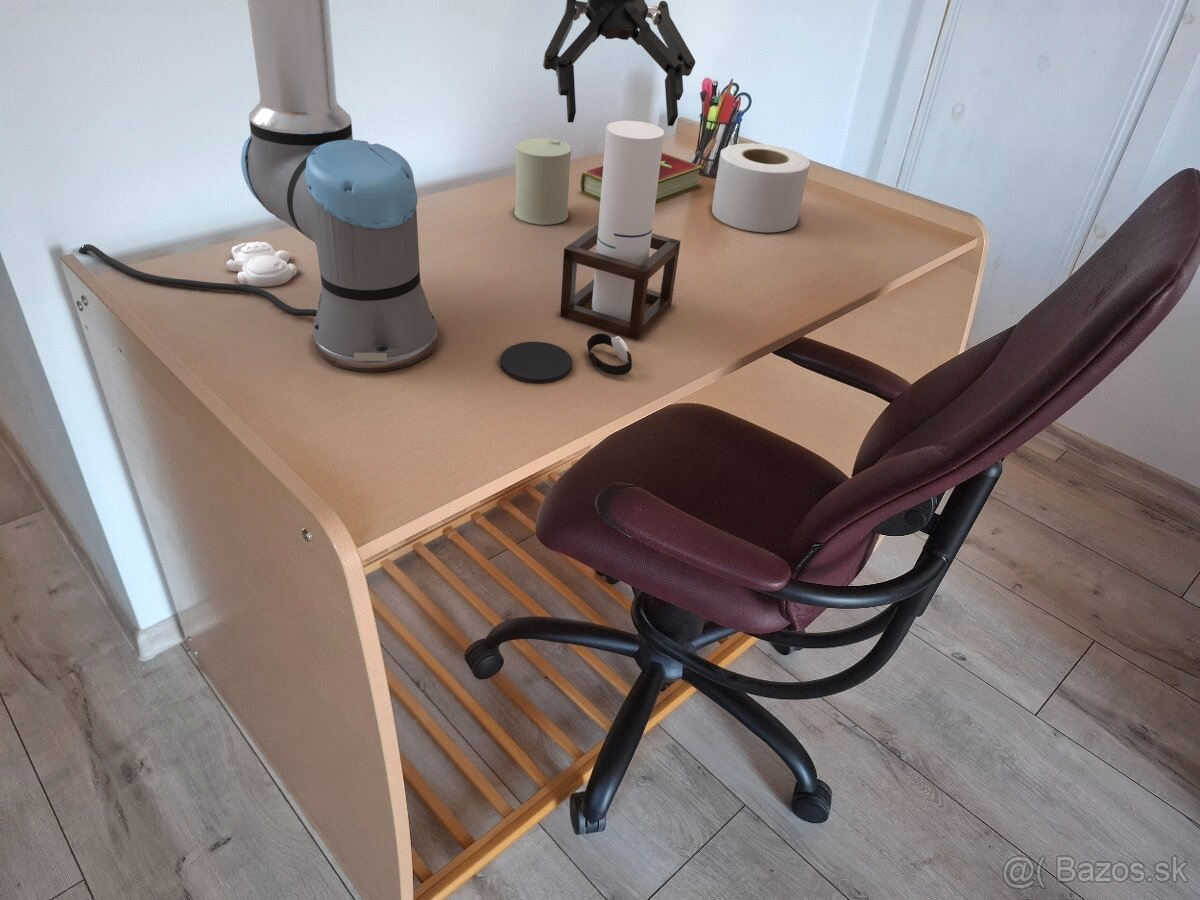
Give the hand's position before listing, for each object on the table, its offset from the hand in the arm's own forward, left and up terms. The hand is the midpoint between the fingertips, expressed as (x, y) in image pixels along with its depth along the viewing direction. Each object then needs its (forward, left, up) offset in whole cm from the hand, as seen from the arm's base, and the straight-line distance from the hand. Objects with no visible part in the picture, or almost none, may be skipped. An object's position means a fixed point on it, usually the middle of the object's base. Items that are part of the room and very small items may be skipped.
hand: (622, 119), depth 110 cm
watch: (+10, -21, -24) cm, 33 cm away
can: (-21, +17, -24) cm, 36 cm away
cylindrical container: (+5, -7, -24) cm, 25 cm away
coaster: (+3, -26, -24) cm, 35 cm away
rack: (+5, -7, -24) cm, 25 cm away
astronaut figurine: (-43, -25, -24) cm, 55 cm away
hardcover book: (-12, +39, -24) cm, 47 cm away
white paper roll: (+10, +40, -24) cm, 47 cm away
